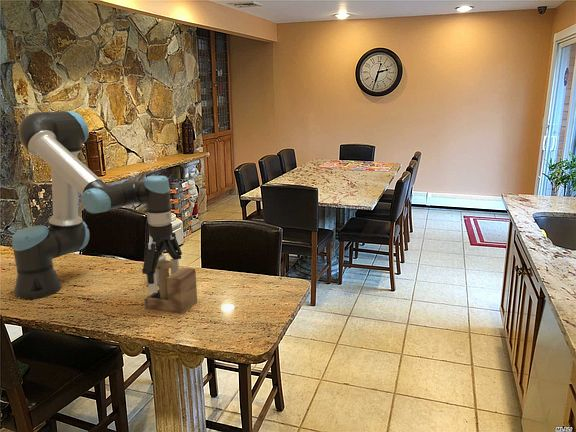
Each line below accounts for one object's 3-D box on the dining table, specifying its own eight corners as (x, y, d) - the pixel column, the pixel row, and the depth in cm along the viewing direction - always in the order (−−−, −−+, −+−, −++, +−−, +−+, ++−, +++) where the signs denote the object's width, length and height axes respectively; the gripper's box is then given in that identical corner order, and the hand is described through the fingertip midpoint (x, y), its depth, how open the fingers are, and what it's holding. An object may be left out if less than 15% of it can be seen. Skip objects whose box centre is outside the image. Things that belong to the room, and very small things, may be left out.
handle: (171, 308, 157) (167, 265, 153) (154, 306, 158) (150, 264, 155) (178, 302, 161) (174, 260, 158) (161, 300, 163) (157, 259, 159)
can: (142, 285, 177) (140, 254, 174) (155, 278, 183) (152, 249, 180) (159, 287, 174) (156, 257, 171) (171, 280, 181) (169, 251, 178)
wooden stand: (145, 308, 157) (142, 275, 154) (162, 296, 166) (159, 264, 163) (182, 313, 152) (180, 279, 150) (197, 301, 162) (195, 268, 159)
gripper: (147, 234, 140) (153, 300, 145) (189, 215, 163) (193, 272, 168) (126, 232, 142) (132, 297, 148) (170, 213, 165) (174, 270, 171)
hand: (164, 284), depth 158 cm, fingers open, 13 cm apart
